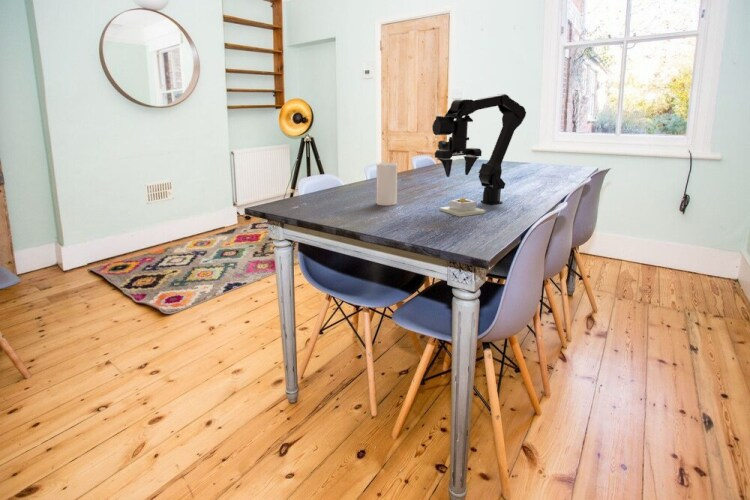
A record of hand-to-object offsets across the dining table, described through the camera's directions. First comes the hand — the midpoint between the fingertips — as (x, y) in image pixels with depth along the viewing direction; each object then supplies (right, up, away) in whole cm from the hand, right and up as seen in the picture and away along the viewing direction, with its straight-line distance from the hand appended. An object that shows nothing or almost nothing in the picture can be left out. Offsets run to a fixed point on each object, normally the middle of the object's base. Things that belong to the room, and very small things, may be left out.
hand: (457, 175), depth 177 cm
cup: (-27, -10, +9) cm, 30 cm away
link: (+1, -13, -6) cm, 15 cm away
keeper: (+1, -14, -5) cm, 15 cm away
